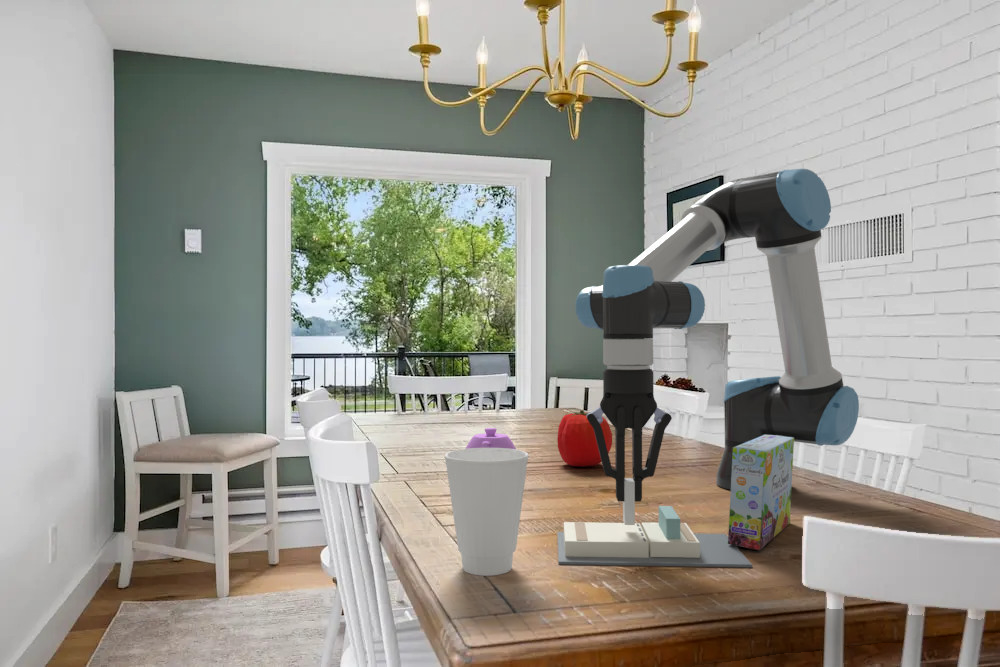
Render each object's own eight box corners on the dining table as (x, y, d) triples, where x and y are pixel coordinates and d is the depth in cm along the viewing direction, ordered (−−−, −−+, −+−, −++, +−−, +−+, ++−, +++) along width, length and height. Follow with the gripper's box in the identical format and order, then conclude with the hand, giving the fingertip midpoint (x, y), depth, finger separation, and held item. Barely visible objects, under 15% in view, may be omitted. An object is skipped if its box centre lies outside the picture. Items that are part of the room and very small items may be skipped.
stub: (686, 536, 119) (685, 504, 119) (699, 557, 108) (699, 521, 108) (641, 536, 119) (641, 503, 119) (650, 556, 108) (650, 520, 108)
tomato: (564, 459, 194) (564, 406, 194) (617, 462, 189) (617, 408, 189) (547, 470, 179) (547, 413, 179) (604, 474, 174) (604, 415, 174)
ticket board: (725, 536, 121) (725, 519, 121) (752, 567, 105) (751, 548, 105) (557, 534, 123) (557, 517, 123) (558, 564, 107) (558, 545, 107)
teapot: (525, 466, 186) (524, 423, 185) (515, 482, 166) (515, 434, 166) (470, 465, 187) (470, 422, 187) (453, 480, 168) (453, 433, 168)
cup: (462, 586, 98) (462, 463, 98) (433, 561, 108) (433, 450, 108) (544, 574, 102) (543, 457, 102) (508, 551, 113) (507, 445, 113)
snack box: (764, 552, 111) (767, 450, 111) (726, 545, 114) (728, 446, 114) (793, 523, 129) (795, 435, 129) (759, 518, 132) (761, 432, 132)
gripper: (667, 366, 117) (668, 517, 117) (583, 366, 118) (584, 516, 118) (675, 368, 110) (676, 529, 110) (586, 368, 111) (586, 528, 111)
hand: (628, 522), depth 114 cm, fingers closed
